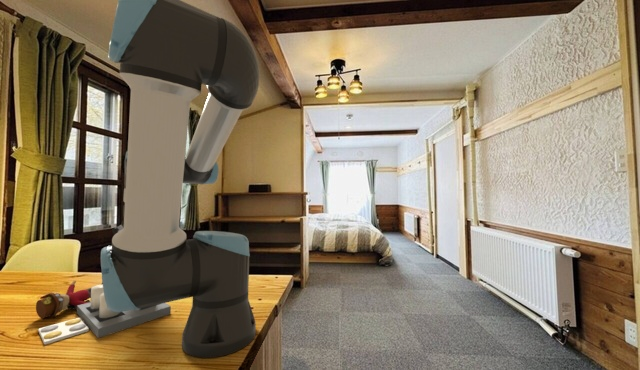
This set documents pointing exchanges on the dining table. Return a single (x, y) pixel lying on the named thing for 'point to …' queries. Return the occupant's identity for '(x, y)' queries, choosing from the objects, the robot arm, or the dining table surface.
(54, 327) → the card
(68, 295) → the toy
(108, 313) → the button near left
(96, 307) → the button far left
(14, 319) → the dining table surface
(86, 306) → the board
